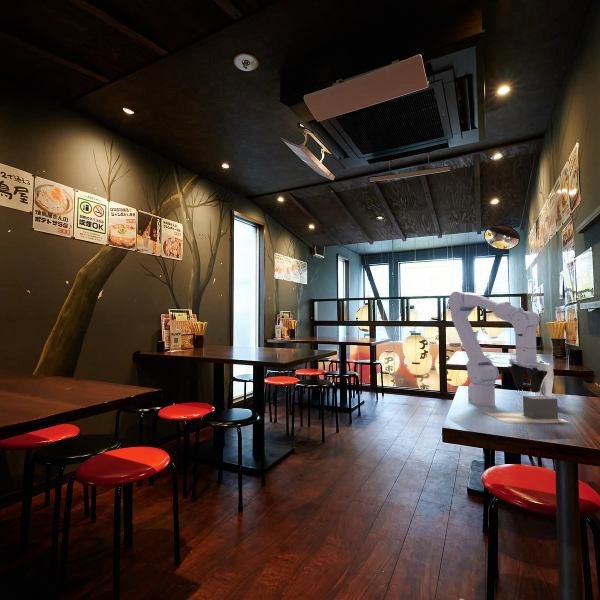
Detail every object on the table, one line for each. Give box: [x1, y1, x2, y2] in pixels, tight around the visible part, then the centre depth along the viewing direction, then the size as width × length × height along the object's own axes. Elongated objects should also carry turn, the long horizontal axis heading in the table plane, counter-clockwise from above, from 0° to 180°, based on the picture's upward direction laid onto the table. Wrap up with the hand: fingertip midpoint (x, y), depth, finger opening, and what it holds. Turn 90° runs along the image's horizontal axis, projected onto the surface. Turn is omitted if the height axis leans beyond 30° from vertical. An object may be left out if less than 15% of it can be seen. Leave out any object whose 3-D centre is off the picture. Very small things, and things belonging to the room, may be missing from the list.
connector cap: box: [522, 395, 559, 419], centre depth 113 cm, size 4×8×6 cm, turn 93°
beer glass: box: [534, 362, 555, 397], centre depth 139 cm, size 7×7×15 cm
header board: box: [485, 411, 570, 424], centre depth 112 cm, size 12×20×4 cm, turn 93°
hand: (527, 389), depth 116 cm, fingers open, 7 cm apart
